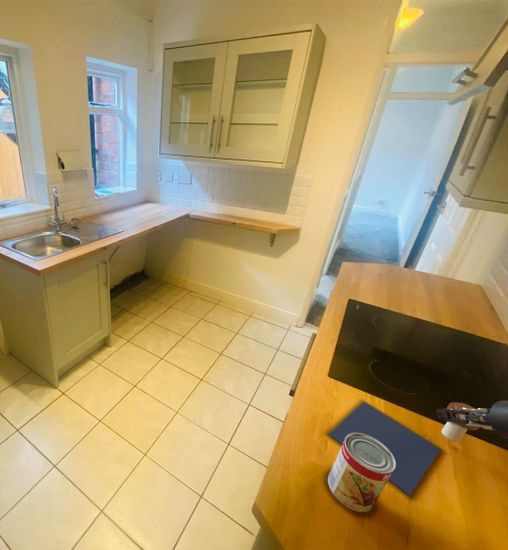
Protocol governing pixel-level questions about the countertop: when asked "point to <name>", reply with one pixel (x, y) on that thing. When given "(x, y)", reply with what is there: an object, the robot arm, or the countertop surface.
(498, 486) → the countertop surface
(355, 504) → the canned food
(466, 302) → the countertop surface
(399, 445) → the napkin
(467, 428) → the mushroom
